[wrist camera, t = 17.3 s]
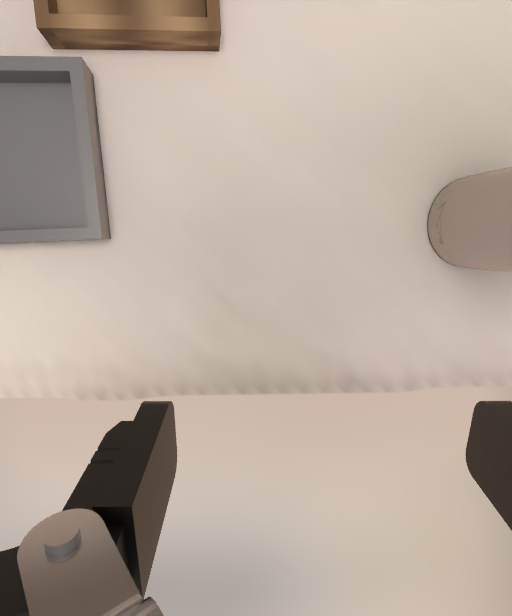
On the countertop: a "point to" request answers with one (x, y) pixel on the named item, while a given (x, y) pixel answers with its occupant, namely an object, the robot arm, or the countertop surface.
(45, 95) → the charcoal bin
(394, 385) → the countertop surface
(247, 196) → the countertop surface
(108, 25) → the walnut tray
